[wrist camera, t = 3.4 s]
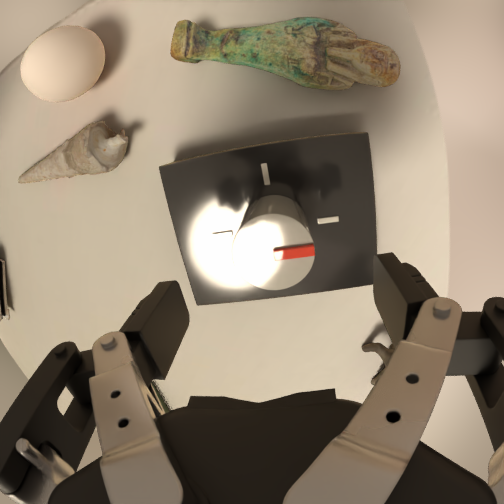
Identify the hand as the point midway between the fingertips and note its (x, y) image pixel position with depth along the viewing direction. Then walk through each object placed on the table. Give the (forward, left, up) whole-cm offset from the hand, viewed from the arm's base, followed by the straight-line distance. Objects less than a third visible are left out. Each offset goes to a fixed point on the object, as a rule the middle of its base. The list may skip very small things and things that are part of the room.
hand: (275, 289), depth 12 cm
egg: (-13, +16, -12) cm, 24 cm away
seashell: (-17, +8, -12) cm, 22 cm away
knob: (0, 0, -9) cm, 9 cm away
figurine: (+3, +12, -12) cm, 17 cm away
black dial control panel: (0, 0, -12) cm, 12 cm away
